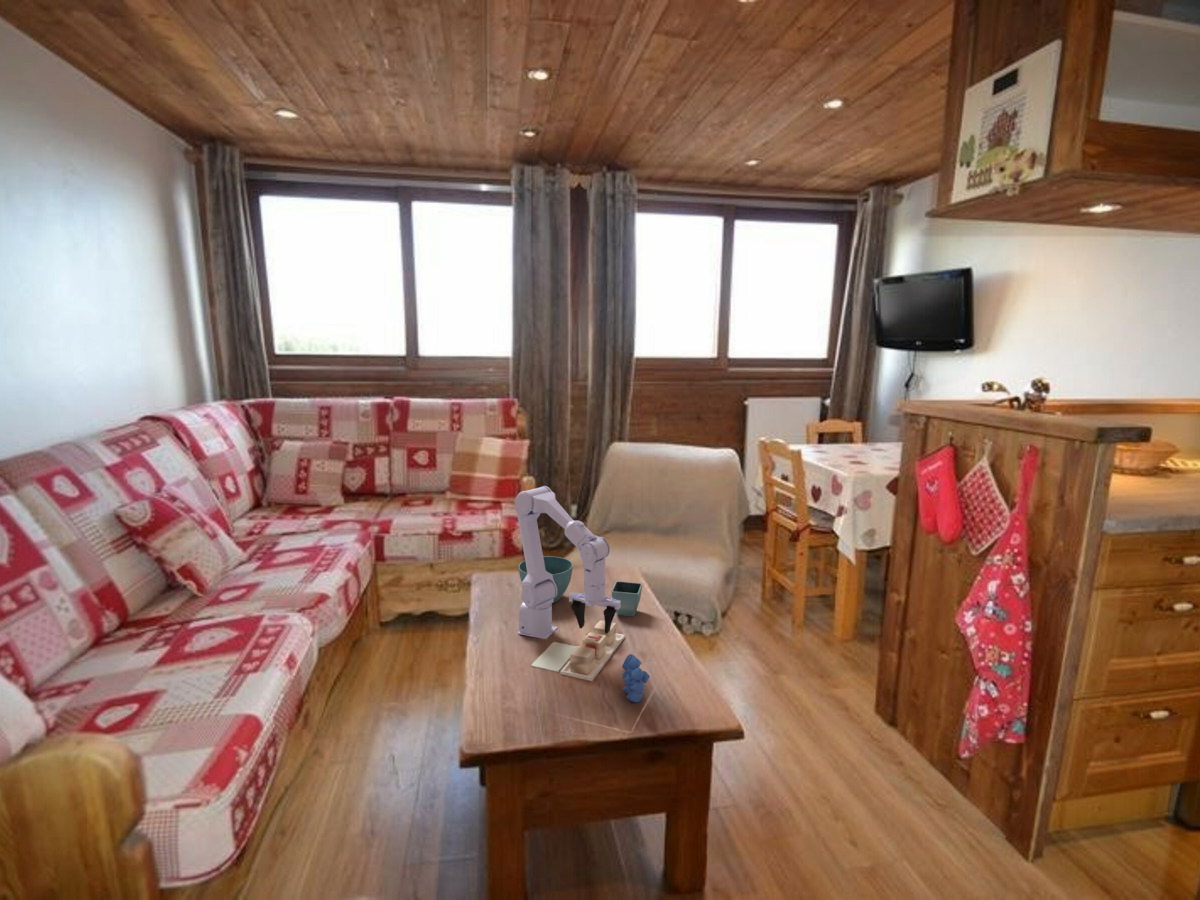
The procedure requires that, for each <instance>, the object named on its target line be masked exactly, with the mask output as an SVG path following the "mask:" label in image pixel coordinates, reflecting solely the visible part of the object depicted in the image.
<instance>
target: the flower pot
mask: <svg viewBox="0 0 1200 900" xmlns="http://www.w3.org/2000/svg"><path fill="white" fill-rule="evenodd" d="M642 590H643V583H642V582H629V581H622V580H621V581H619V580H616V581H615V582H614V584H613V587H612V589H611V598H613V599H616V600H620V601H621V607H620V609H619V610H617V611H616V613H615V614H616V615H617V616H627V617H634V616H635V614H636V613H637V611H638V607H639V604H640V601H641V595H642Z"/></svg>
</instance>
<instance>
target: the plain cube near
mask: <svg viewBox="0 0 1200 900" xmlns="http://www.w3.org/2000/svg"><path fill="white" fill-rule="evenodd" d="M569 661H570V672H573V673H578V674H582V675H587V676H588V675H589V674H590V672H591V671H592V670H593V668H594V667H595V649H593V648H588V647H583V645H582V646H581V645H577V647H576V648H575V649H574V651H573V652H572V653H571V654H570V659H569Z"/></svg>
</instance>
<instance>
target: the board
mask: <svg viewBox="0 0 1200 900" xmlns="http://www.w3.org/2000/svg"><path fill="white" fill-rule="evenodd" d="M577 646H578V645H577ZM577 646H576V645H572V644H571V645H570V644H566V643H562V642H556V641H553V642H552V643H551V644H550V645H549V646H548V647H547V648H546V650H544V651H543V652H542V653H541V655H539V657H537V658H536V659H535V661H533V662H532V664H531V665H530V667H532V668H537V669H541V670H546V671H551V672H555V673H559V672H560V671H561V670H562V669H563V667H564V666H565V665H566V664H567V663H568V662H569V661H570V654H571V653H572V652H573V651H574V649H575V648H576V647H577Z"/></svg>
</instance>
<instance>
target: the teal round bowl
mask: <svg viewBox="0 0 1200 900" xmlns="http://www.w3.org/2000/svg"><path fill="white" fill-rule="evenodd" d="M543 558H544V564H545V570H546V571H547V572H549V573H550V574H552V575H553V580H554V582H555V584H556V586H557V595H556V597H555V598H553V600H554V602H553V603H552V604H555V603H557V602H558V601H559V600H560V599H561V598H562V597H563V596H564V594H565V593H566V591H567V589H568V587H569V585H570V583H571V579H572V575H573V567H574V566H573V565H574V564H573V562H572V561H571V560H570V559H567V558H564V557H561V556H547V555H546V556H545V555H543ZM518 574H519V578H520V582H521V583H522V582H523V580H524V579H525V577H526V576H527V574H528V573H527V567H526V562H525V560H522V562H520V563H519V564H518Z"/></svg>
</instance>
